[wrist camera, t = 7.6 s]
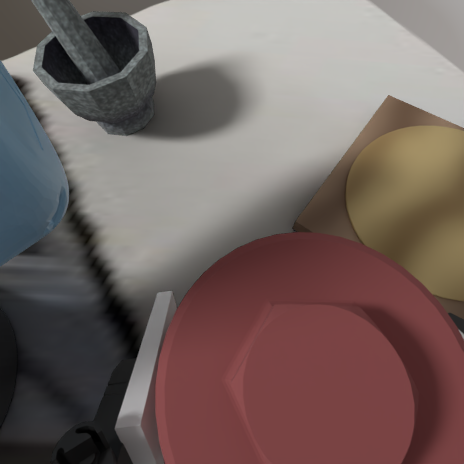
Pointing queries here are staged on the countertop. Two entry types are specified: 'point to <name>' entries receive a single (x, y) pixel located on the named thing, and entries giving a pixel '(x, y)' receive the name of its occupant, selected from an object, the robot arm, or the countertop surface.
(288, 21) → the countertop surface
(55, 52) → the mortar and pestle
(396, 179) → the marked board
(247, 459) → the mechanical component
